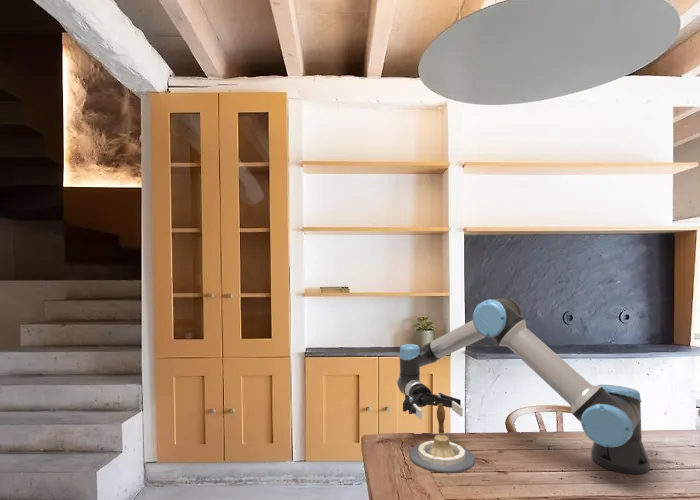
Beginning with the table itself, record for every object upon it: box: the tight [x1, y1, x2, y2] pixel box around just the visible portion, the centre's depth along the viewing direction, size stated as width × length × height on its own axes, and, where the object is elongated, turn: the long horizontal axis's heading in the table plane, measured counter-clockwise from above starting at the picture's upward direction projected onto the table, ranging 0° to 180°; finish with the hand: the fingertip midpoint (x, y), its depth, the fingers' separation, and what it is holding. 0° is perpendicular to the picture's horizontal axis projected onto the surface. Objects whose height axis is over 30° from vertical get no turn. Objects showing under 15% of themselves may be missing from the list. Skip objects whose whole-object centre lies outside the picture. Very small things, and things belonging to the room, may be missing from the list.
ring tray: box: [409, 440, 475, 474], centre depth 137 cm, size 20×20×2 cm
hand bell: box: [428, 403, 455, 458], centre depth 137 cm, size 8×8×16 cm
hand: (441, 413), depth 136 cm, fingers open, 13 cm apart
